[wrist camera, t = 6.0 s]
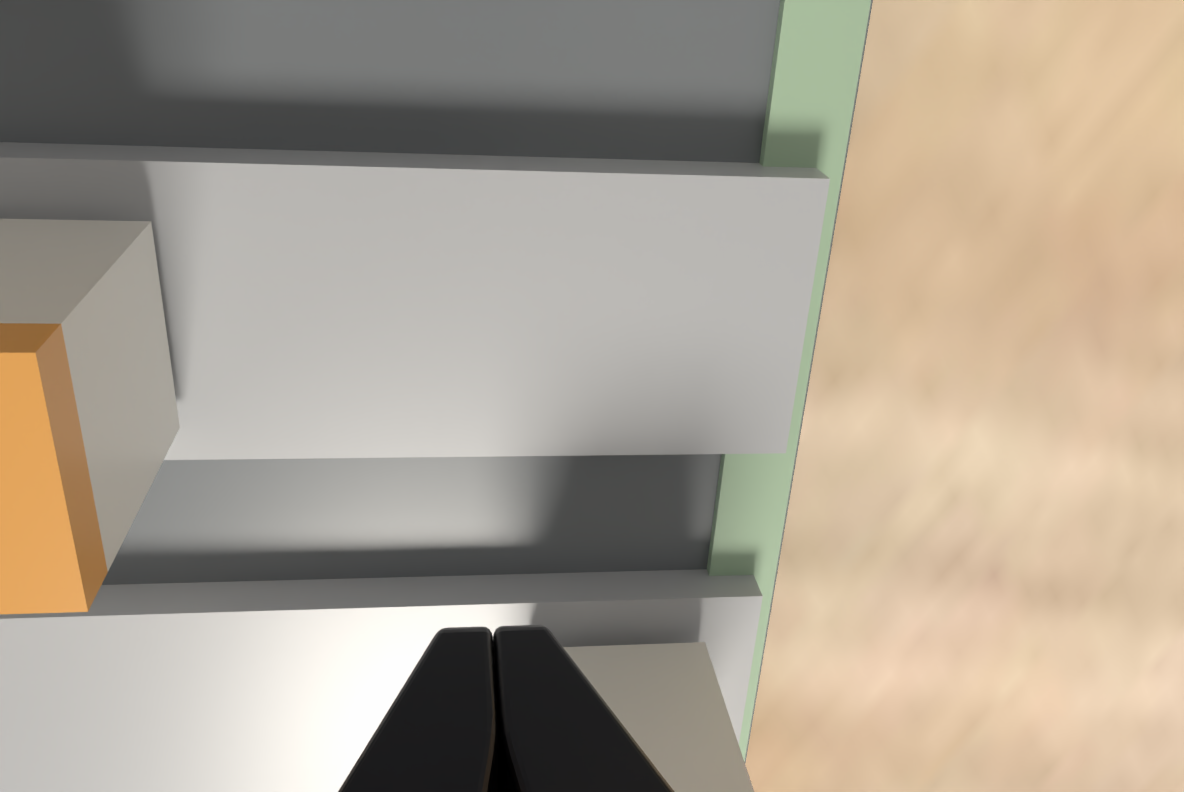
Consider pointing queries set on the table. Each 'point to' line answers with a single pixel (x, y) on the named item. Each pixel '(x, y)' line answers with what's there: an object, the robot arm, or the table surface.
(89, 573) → the toggle mid
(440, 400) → the panel
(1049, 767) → the table surface
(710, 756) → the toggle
